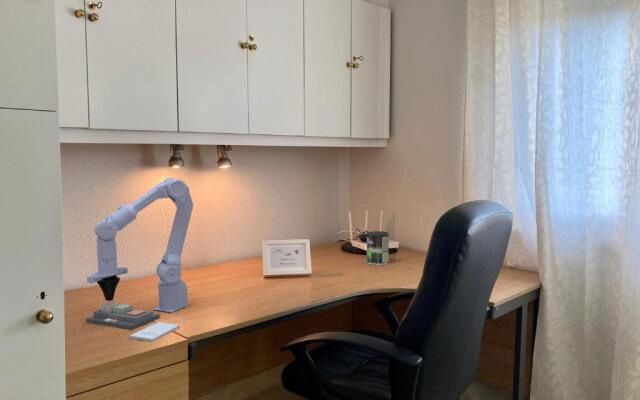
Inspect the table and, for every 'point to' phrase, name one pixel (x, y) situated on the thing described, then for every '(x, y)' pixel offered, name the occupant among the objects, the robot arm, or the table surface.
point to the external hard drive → (154, 332)
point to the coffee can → (377, 248)
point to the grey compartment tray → (122, 319)
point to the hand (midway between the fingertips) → (109, 300)
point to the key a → (108, 306)
